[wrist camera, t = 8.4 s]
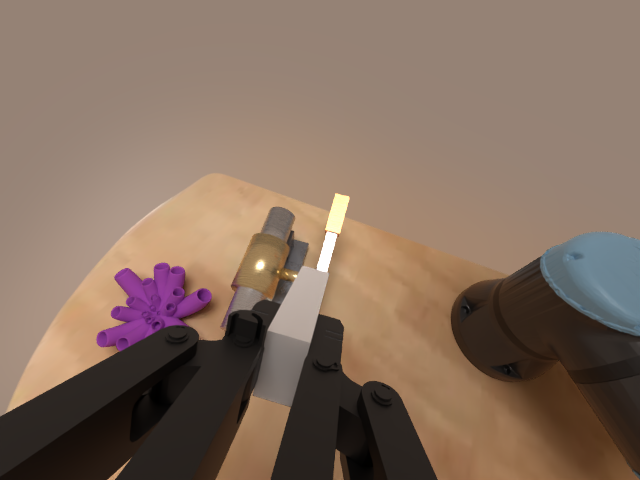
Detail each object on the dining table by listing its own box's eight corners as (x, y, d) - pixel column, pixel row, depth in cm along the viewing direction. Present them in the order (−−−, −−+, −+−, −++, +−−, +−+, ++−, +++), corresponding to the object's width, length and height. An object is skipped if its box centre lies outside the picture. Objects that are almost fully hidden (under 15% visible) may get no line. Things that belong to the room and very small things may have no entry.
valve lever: (323, 294, 40) (349, 196, 43) (308, 290, 40) (335, 192, 44) (322, 295, 43) (347, 202, 46) (308, 291, 43) (334, 199, 46)
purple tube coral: (193, 283, 52) (220, 266, 46) (169, 380, 45) (196, 377, 38) (118, 261, 46) (137, 239, 39) (75, 372, 38) (89, 366, 32)
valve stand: (289, 358, 45) (289, 343, 35) (225, 339, 45) (209, 320, 36) (321, 251, 53) (328, 216, 44) (267, 236, 54) (263, 199, 44)
